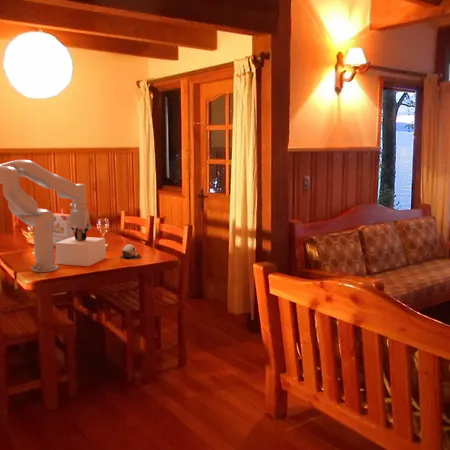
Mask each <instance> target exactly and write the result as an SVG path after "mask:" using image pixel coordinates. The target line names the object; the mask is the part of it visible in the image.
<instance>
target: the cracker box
mask: <svg viewBox="0 0 450 450" xmlns="http://www.w3.org/2000/svg"><path fill="white" fill-rule="evenodd" d="M53 215H54V227H53V239H54V249H56V244H55V243H56V242H59V241H62V240H65V239H68V238H71V237H74V236H75V233H74V231H73V230H72V229H71V228H70V227H69V224H70V214H68V213H67V214H66V213H65V214H64V213H59V212H58V213H53Z"/></svg>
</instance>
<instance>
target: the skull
mask: <svg viewBox="0 0 450 450" xmlns="http://www.w3.org/2000/svg"><path fill="white" fill-rule="evenodd" d="M121 254H122V255H120V256H119V259H124V260H128V261H129V260H130V261H131V260H137V259H140V258H141V257H142V255H141V254H138V252H137V249H136V247H135V245H133V244H125V246H124V247H123V248H122V250H121Z"/></svg>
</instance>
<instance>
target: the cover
mask: <svg viewBox="0 0 450 450" xmlns="http://www.w3.org/2000/svg"><path fill="white" fill-rule="evenodd" d="M82 233H83V231H82V228H78V229H77V240H75V235H74V237H71V238H68V239H65V240H62V241H59V242H56V243H55V244H56V248H55V264H57V265H69V266H79V267H80V266H83V267H89V266H92V265H94V264H96V263H99V262H101V261H104V260H105V259H106V257H107V255H106V252H107V251H106V238H105V237H94V236H93V237H92V236H91V237H89V236H86V240H82Z"/></svg>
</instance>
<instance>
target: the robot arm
mask: <svg viewBox="0 0 450 450" xmlns="http://www.w3.org/2000/svg"><path fill="white" fill-rule="evenodd" d="M20 177H21V178H26V179H28V180H29V181H31V182H33V183H35V184H37V185H39V186H40V187H42V188H45V189H49V190H51V191H52V190H53V191H55V194H56V195H57V197H58V198H61V199H68V200H71V203H70V205H69V206H70V207H71V209H70V212H69V215H70V224H69V227H70V228H71V229H72V230H73V233H74V236H75V240H77V229H82V231H83V233H82V240H86V237H87V232H88V231H89V230H90V229H91V228H93V226H92V225H91V223H90V221H91V220H90V213H89V210H88V208H87V190H86V189H87V187H86V185H85V184H84V183H74V182H73V181H71V180H69V179H68V178H64V177H62V176H60V175H58V174H56V173H53V172H51V171H49V170H47V169H46V168H44V167H43V166H41V165H39V164H38V163H36V162H34V161H33V160H30V159H15V160H12V161H8V162H3V163H0V184H1V185H2V195H3V197H4V199H5V200H6V201H7V202H8V203H7V206H8V210H9V211H10V213H12V214H13V215H14V216H15V217H17V218H18V219H19V220H20V221H22V223H24V224H26V225H27V226H31V227H35V228H34V231H33V246H34V247H33V249H34V258H35V259H34V265H31V266H30V270H31V271H33V272H35V273H50V272H54V271H57V270H59V265H58V264H57V265H56V257H55V247H54V239H53V227H54V215H53V214H54V213H53V212H52V211H50V210H49V209H46V208H41V207H40V208H39V205H38V202H37V201H36V200H35V199H34V198H33V197H32V196H30V195H29V194H28V193H27V192H25V191H24V190H23V189H22V188H21V186H20Z"/></svg>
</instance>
